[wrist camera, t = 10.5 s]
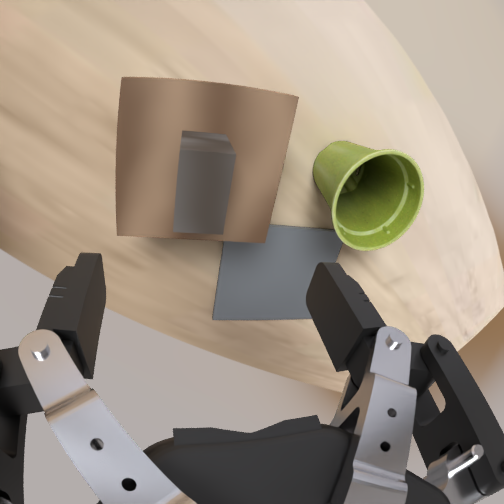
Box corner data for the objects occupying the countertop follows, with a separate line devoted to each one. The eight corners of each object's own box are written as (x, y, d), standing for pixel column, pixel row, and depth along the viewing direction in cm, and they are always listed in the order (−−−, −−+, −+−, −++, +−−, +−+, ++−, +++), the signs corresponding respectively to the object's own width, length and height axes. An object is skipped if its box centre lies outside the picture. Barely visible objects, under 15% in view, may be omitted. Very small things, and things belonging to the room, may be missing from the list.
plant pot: (383, 129, 29) (435, 156, 22) (368, 207, 34) (408, 248, 27) (302, 121, 27) (342, 145, 20) (293, 208, 33) (323, 255, 26)
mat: (212, 317, 39) (212, 319, 39) (226, 221, 32) (227, 223, 32) (311, 316, 43) (312, 318, 43) (344, 230, 36) (346, 232, 35)
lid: (119, 227, 24) (104, 275, 19) (125, 76, 17) (101, 81, 12) (261, 235, 27) (280, 281, 22) (293, 95, 20) (328, 107, 15)
